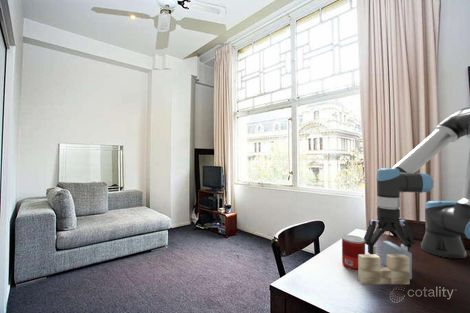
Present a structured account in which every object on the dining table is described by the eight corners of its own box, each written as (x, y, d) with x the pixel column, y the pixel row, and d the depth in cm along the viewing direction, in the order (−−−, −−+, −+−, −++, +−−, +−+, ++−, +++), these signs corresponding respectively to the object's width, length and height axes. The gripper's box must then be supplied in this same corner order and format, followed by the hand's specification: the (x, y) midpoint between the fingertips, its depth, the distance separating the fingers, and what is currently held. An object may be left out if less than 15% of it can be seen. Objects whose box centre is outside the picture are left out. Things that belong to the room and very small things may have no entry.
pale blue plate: (382, 263, 92) (382, 241, 92) (388, 263, 92) (388, 241, 92) (405, 279, 80) (404, 253, 80) (411, 279, 80) (411, 253, 80)
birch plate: (404, 280, 79) (404, 254, 79) (409, 284, 77) (409, 257, 77) (358, 280, 79) (358, 254, 79) (362, 284, 77) (362, 257, 77)
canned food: (368, 272, 85) (368, 242, 85) (345, 270, 86) (345, 241, 87) (361, 262, 92) (361, 235, 92) (340, 261, 94) (340, 234, 94)
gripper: (411, 205, 94) (411, 257, 94) (353, 205, 94) (353, 257, 94) (426, 209, 87) (426, 266, 86) (363, 209, 87) (363, 266, 86)
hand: (388, 262), depth 90 cm, fingers open, 12 cm apart
